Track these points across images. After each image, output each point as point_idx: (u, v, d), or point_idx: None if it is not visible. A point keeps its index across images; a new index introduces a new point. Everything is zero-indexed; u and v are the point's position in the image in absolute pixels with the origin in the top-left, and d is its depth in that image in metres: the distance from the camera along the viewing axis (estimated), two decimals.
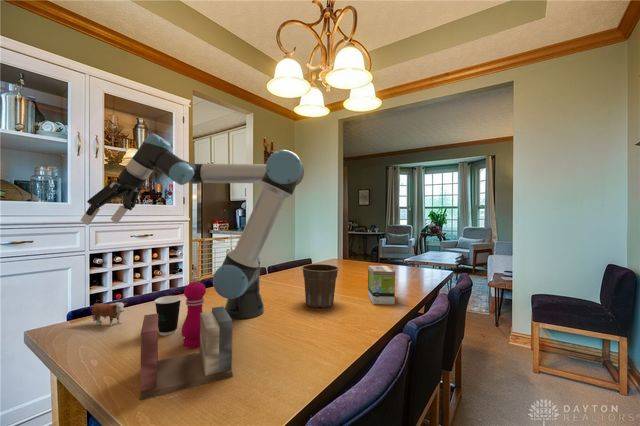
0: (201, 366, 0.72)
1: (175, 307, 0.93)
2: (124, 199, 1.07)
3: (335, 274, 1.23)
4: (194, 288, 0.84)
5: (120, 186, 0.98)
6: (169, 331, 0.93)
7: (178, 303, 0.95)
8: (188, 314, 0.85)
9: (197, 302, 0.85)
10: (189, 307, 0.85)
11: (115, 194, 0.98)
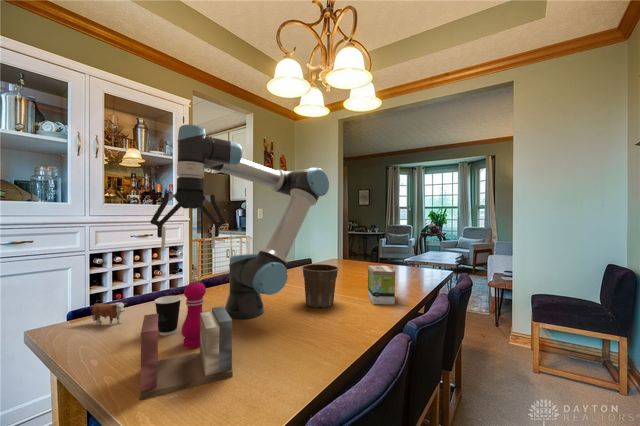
0: (201, 366, 0.72)
1: (175, 307, 0.93)
2: (171, 215, 0.84)
3: (335, 274, 1.23)
4: (194, 288, 0.84)
5: None
6: (169, 331, 0.93)
7: (178, 303, 0.95)
8: (188, 314, 0.85)
9: (197, 302, 0.85)
10: (189, 307, 0.85)
11: None
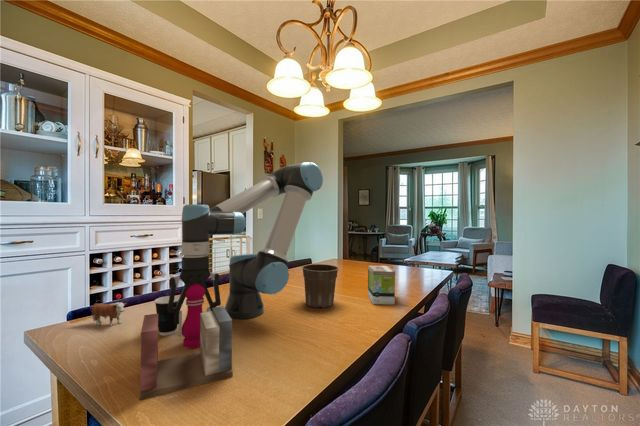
0: (201, 366, 0.72)
1: None
2: (184, 298, 0.85)
3: (335, 274, 1.23)
4: (194, 288, 0.84)
5: None
6: (169, 331, 0.93)
7: None
8: (188, 314, 0.85)
9: (197, 302, 0.85)
10: (189, 307, 0.85)
11: None
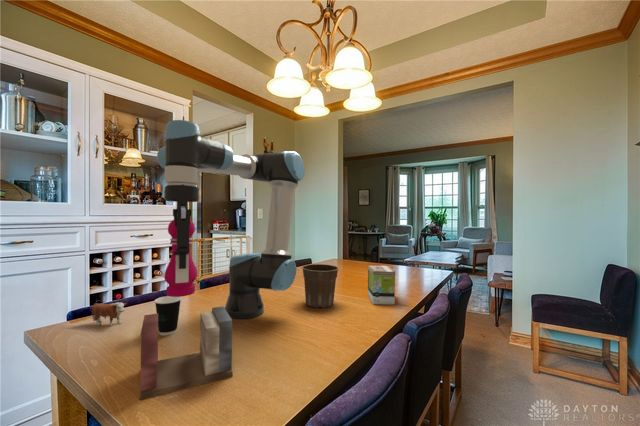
0: (201, 366, 0.72)
1: (175, 307, 0.93)
2: None
3: (335, 274, 1.23)
4: None
5: None
6: (169, 331, 0.93)
7: (178, 303, 0.95)
8: None
9: None
10: None
11: None
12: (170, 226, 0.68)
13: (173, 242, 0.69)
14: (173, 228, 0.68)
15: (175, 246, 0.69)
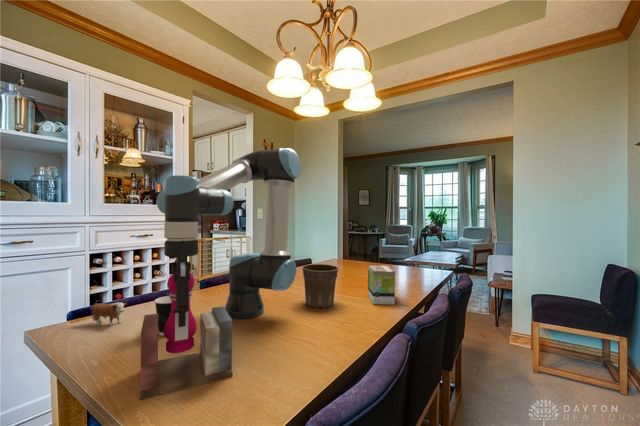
0: (201, 366, 0.72)
1: None
2: None
3: (335, 274, 1.23)
4: (192, 276, 0.71)
5: None
6: None
7: None
8: None
9: None
10: None
11: None
12: (169, 282, 0.68)
13: (172, 298, 0.68)
14: (173, 284, 0.68)
15: (174, 302, 0.69)
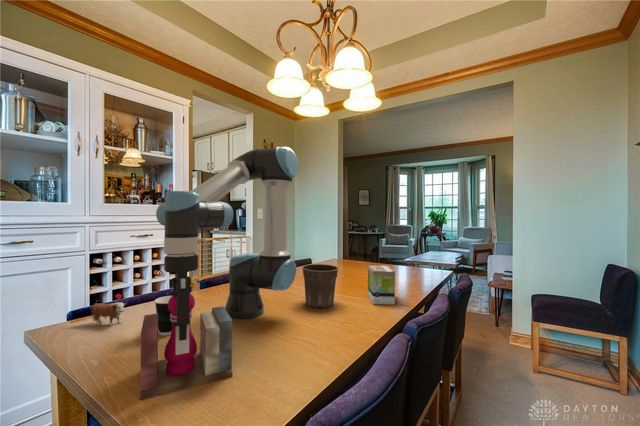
0: (201, 366, 0.72)
1: None
2: None
3: (335, 274, 1.23)
4: (192, 296, 0.71)
5: None
6: (169, 331, 0.93)
7: None
8: None
9: None
10: None
11: None
12: (170, 303, 0.68)
13: (173, 319, 0.68)
14: (173, 306, 0.68)
15: None
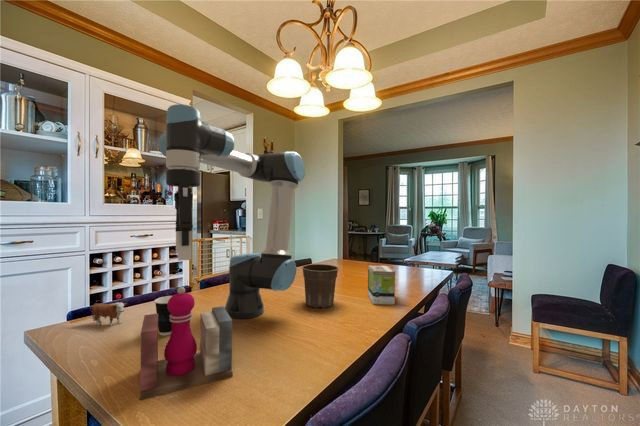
0: (201, 366, 0.72)
1: None
2: None
3: (335, 274, 1.23)
4: (192, 297, 0.71)
5: None
6: (169, 331, 0.93)
7: None
8: (186, 332, 0.69)
9: None
10: (187, 322, 0.70)
11: None
12: (169, 304, 0.68)
13: (173, 320, 0.68)
14: (173, 307, 0.68)
15: (175, 324, 0.68)
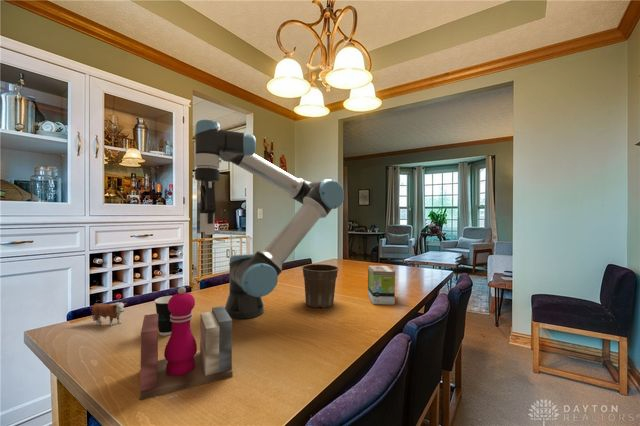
0: (201, 366, 0.72)
1: None
2: None
3: (335, 274, 1.23)
4: (193, 297, 0.71)
5: None
6: (169, 331, 0.93)
7: None
8: (186, 332, 0.69)
9: None
10: (187, 322, 0.70)
11: None
12: (170, 304, 0.68)
13: (173, 320, 0.68)
14: (173, 306, 0.68)
15: (175, 323, 0.69)
